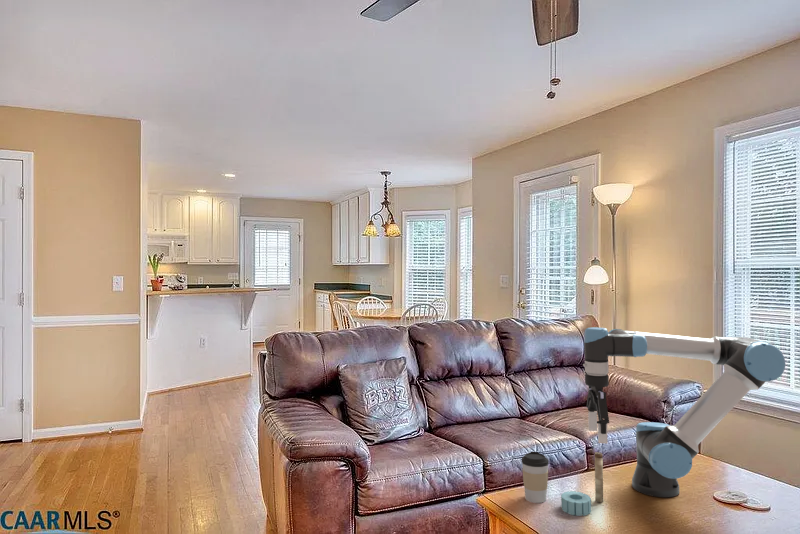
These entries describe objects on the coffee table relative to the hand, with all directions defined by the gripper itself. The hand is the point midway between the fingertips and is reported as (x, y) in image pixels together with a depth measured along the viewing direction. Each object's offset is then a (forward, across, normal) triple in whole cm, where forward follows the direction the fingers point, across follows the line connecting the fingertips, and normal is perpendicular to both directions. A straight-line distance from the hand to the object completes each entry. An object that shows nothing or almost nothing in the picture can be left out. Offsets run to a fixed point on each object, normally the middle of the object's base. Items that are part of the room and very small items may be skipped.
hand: (597, 436), depth 177 cm
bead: (+22, +7, -9) cm, 24 cm away
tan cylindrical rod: (+22, 0, 0) cm, 22 cm away
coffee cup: (+22, 0, -21) cm, 30 cm away
